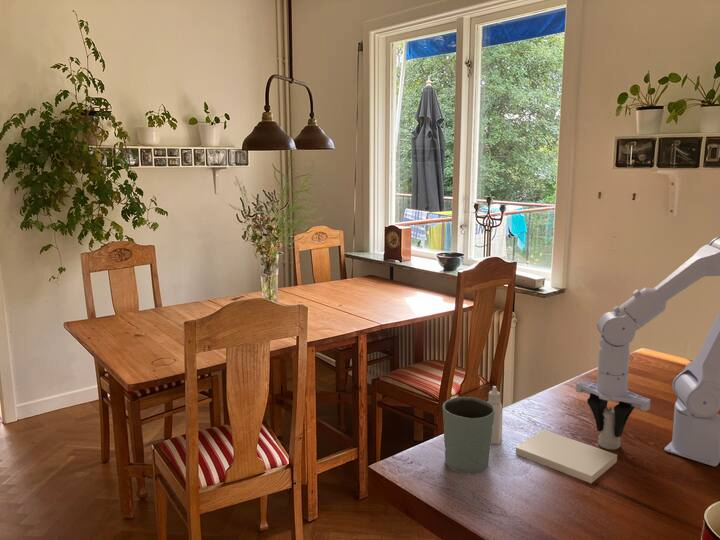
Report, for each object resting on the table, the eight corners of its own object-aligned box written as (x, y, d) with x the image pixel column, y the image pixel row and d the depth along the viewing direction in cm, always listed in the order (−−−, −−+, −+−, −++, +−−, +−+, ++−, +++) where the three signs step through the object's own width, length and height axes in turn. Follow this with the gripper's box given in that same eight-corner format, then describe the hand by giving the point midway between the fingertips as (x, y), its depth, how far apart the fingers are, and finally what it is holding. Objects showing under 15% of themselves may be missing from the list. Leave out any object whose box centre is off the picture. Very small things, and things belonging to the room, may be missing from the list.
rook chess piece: (622, 443, 123) (624, 407, 121) (618, 452, 119) (620, 416, 118) (599, 438, 125) (601, 403, 124) (595, 447, 122) (597, 411, 120)
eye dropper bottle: (509, 437, 127) (510, 385, 125) (496, 446, 123) (497, 393, 121) (491, 431, 130) (492, 380, 128) (478, 440, 126) (478, 388, 124)
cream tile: (616, 461, 116) (617, 454, 115) (591, 483, 108) (591, 476, 108) (543, 435, 127) (543, 429, 127) (515, 454, 120) (515, 447, 120)
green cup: (440, 450, 122) (440, 396, 120) (488, 450, 122) (489, 396, 120) (445, 476, 112) (445, 418, 110) (498, 475, 112) (499, 417, 110)
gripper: (570, 367, 122) (567, 427, 124) (641, 385, 111) (637, 451, 114) (585, 359, 126) (583, 417, 129) (655, 375, 116) (651, 438, 118)
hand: (609, 432), depth 122 cm, fingers closed on rook chess piece, 3 cm apart
